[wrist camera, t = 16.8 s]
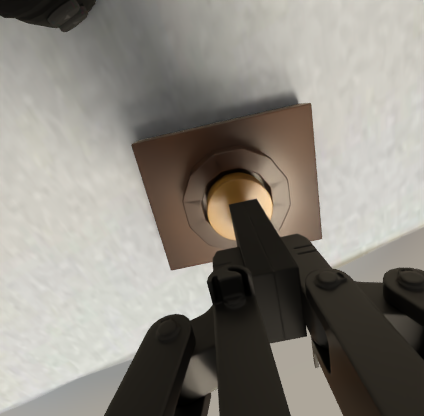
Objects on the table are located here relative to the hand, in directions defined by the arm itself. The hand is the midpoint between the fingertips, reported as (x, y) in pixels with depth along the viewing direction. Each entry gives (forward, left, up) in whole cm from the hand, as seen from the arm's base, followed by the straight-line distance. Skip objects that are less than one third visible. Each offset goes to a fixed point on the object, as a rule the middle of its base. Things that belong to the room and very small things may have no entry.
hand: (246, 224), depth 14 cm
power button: (0, 0, -4) cm, 4 cm away
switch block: (0, 0, -7) cm, 7 cm away
